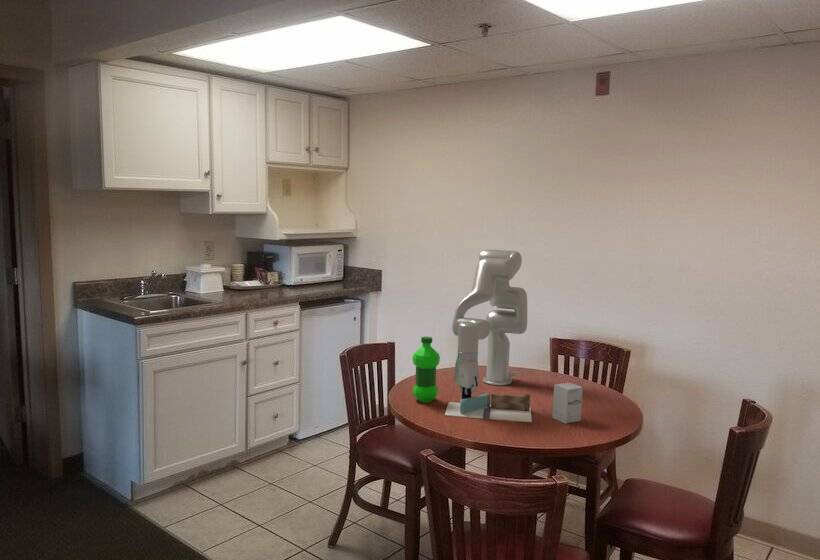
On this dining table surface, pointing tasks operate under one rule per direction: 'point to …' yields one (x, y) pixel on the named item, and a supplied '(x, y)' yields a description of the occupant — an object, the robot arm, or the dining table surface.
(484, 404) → the teal bar
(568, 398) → the supplement box
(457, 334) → the robot arm
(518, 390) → the dining table surface
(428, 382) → the plastic bottle
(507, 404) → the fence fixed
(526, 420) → the card
